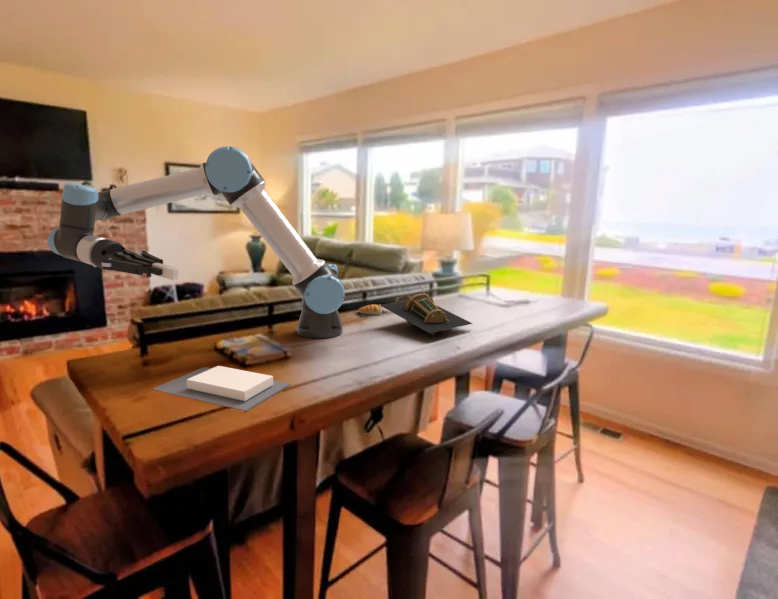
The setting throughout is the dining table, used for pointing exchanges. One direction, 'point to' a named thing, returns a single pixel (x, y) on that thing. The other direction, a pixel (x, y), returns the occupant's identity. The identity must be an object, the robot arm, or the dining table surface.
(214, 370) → the tile
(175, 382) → the mat
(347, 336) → the dining table surface
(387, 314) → the dining table surface
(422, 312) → the lantern
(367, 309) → the pastry
